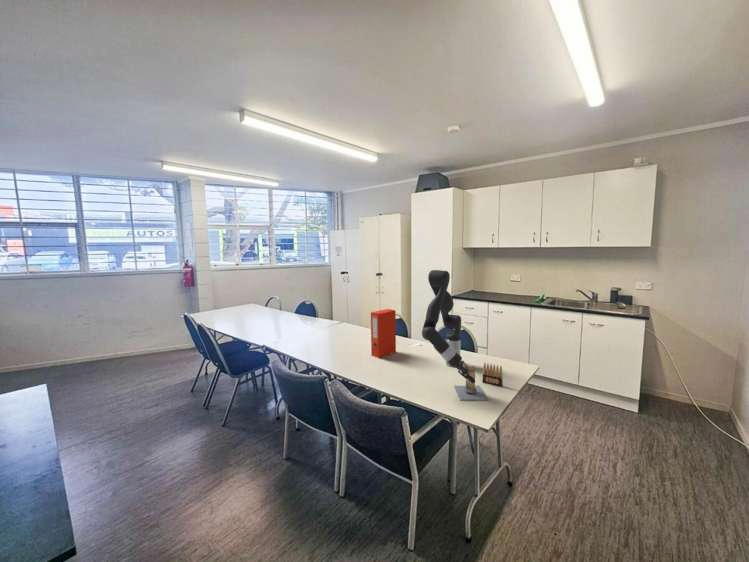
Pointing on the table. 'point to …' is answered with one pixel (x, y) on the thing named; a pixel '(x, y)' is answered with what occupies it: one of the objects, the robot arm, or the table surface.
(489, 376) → the ammunition clip
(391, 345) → the file binder
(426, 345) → the table surface
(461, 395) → the slate mat
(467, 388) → the tan ribbed cylinder
